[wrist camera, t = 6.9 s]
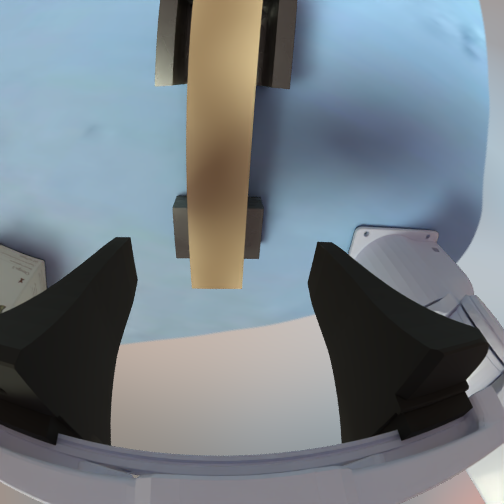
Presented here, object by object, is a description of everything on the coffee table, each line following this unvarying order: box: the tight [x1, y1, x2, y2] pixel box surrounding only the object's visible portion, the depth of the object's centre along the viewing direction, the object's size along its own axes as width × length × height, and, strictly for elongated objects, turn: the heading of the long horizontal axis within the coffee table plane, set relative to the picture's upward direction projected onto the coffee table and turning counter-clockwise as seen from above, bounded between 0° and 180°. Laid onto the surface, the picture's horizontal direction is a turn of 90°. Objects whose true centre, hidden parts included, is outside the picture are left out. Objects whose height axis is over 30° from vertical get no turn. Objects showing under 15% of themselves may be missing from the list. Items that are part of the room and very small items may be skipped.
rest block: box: [173, 196, 264, 259], centre depth 21 cm, size 6×4×2 cm, turn 86°
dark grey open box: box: [155, 0, 297, 89], centre depth 12 cm, size 6×6×6 cm
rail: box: [186, 0, 263, 289], centre depth 15 cm, size 3×16×4 cm, turn 176°
